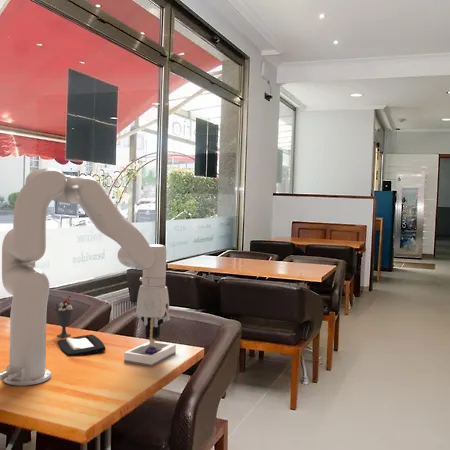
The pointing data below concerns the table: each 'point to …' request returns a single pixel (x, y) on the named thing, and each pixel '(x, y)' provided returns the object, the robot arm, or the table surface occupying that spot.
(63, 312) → the sundae
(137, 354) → the white rimmed dish
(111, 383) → the table surface
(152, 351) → the toy lamp
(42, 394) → the table surface
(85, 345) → the light switch
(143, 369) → the table surface
